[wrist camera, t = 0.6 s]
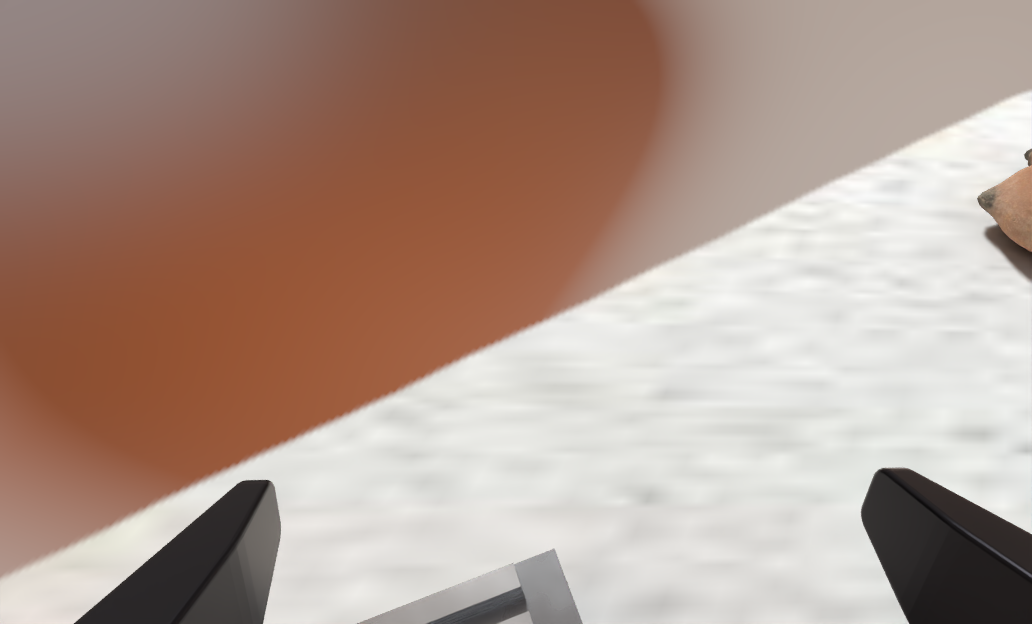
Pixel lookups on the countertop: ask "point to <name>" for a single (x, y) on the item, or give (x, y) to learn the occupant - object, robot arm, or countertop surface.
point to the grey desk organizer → (497, 598)
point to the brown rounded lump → (1013, 205)
